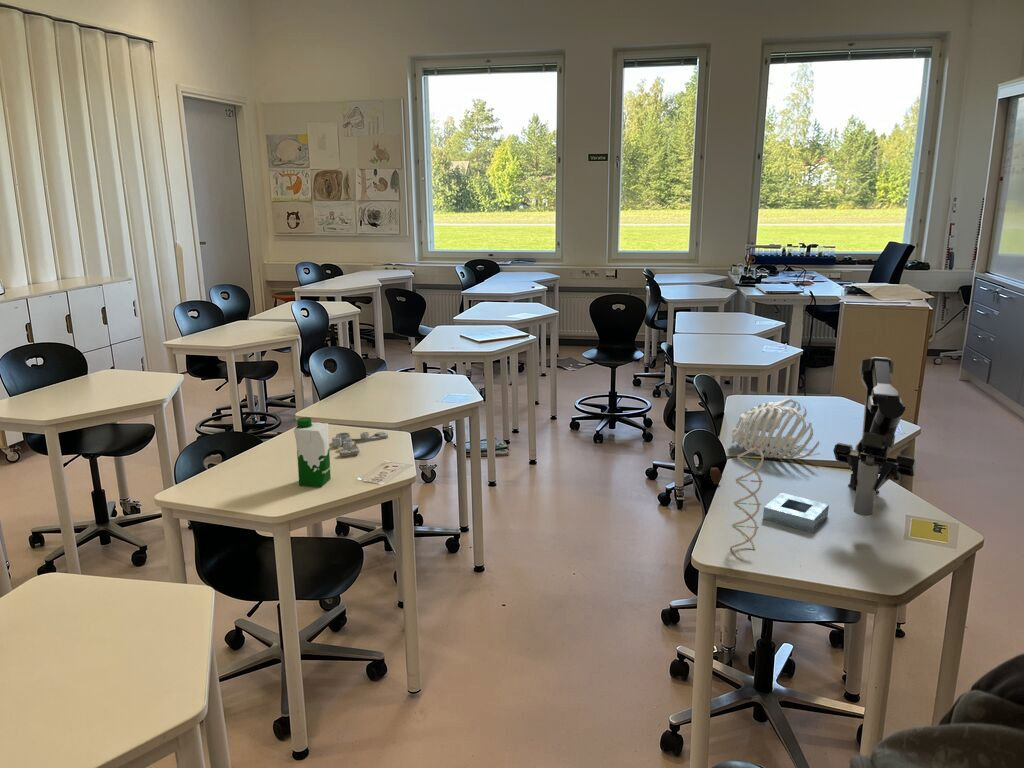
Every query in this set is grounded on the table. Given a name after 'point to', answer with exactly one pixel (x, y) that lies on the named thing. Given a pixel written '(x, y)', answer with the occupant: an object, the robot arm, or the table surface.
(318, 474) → the milk carton
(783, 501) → the grey square frame
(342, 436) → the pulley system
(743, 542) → the dna model
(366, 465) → the table surface
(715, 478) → the bolt
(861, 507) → the plug
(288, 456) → the table surface
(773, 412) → the rib cage
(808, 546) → the table surface
